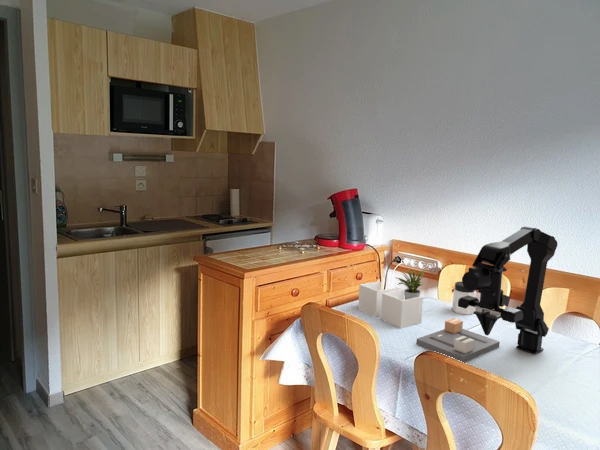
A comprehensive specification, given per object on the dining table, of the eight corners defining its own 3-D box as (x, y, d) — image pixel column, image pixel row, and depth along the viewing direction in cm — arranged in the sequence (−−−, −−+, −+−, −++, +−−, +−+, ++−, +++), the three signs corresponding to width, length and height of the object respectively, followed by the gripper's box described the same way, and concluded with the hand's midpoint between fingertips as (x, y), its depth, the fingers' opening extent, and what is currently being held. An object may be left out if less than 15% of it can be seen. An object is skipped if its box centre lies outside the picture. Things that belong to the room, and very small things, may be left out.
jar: (450, 312, 195) (452, 284, 193) (454, 307, 202) (456, 280, 200) (472, 316, 191) (474, 288, 189) (475, 310, 198) (478, 283, 196)
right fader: (462, 330, 168) (462, 321, 168) (454, 333, 165) (454, 323, 165) (452, 327, 171) (453, 317, 171) (444, 330, 168) (445, 320, 168)
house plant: (409, 297, 215) (411, 262, 213) (435, 304, 205) (437, 268, 202) (389, 302, 206) (391, 266, 204) (415, 311, 195) (417, 273, 193)
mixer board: (499, 347, 160) (499, 341, 160) (462, 363, 147) (462, 356, 146) (453, 330, 174) (454, 325, 174) (416, 344, 161) (416, 338, 160)
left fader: (473, 349, 152) (474, 339, 151) (464, 353, 148) (465, 342, 148) (462, 345, 155) (463, 335, 154) (453, 349, 152) (454, 338, 151)
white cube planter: (358, 309, 196) (359, 284, 195) (377, 305, 202) (379, 281, 200) (400, 328, 175) (402, 300, 174) (421, 323, 181) (422, 296, 180)
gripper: (534, 289, 140) (529, 338, 142) (477, 276, 155) (474, 320, 157) (515, 295, 133) (510, 347, 136) (458, 281, 148) (455, 327, 150)
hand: (487, 334), depth 145 cm, fingers closed
